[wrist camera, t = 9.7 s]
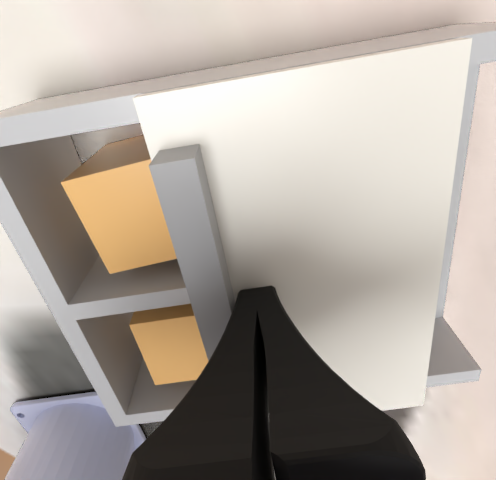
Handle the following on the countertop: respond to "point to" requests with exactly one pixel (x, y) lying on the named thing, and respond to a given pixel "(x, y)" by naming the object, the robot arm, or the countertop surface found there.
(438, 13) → the countertop surface
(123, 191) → the light orange rectangular block
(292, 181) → the lid
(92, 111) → the housing
